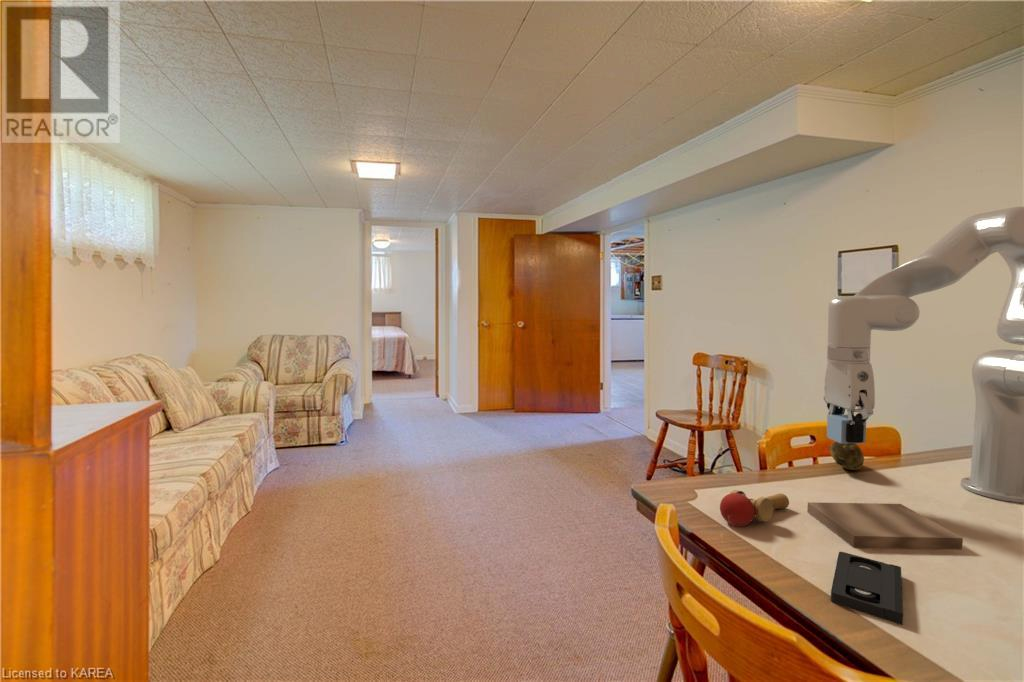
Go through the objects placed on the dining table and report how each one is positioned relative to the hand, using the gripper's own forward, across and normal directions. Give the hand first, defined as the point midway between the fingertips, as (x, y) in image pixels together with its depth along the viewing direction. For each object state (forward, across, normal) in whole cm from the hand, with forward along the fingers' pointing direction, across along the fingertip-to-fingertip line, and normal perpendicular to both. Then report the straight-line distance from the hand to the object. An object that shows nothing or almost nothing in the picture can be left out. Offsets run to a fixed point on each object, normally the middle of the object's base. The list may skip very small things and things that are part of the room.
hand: (845, 437), depth 104 cm
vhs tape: (+13, -35, +19) cm, 42 cm away
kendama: (+13, -11, +24) cm, 29 cm away
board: (+13, -16, +4) cm, 21 cm away
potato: (+13, +17, -11) cm, 24 cm away
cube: (+1, 0, 0) cm, 1 cm away
